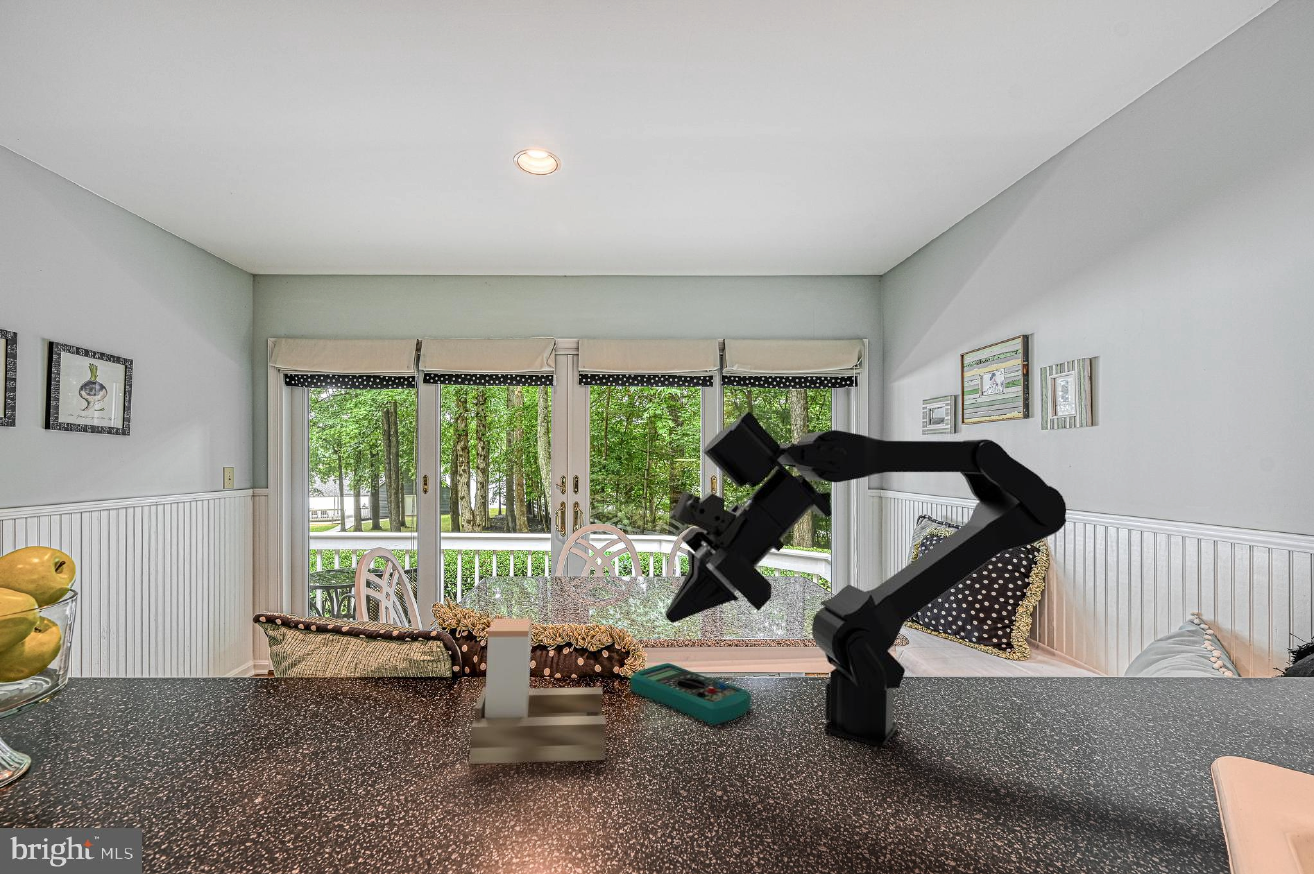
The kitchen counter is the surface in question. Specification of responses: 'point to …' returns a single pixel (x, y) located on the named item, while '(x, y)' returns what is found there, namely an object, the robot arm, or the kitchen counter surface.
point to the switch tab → (508, 668)
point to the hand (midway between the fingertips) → (668, 619)
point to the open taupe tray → (543, 729)
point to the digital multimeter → (691, 693)
